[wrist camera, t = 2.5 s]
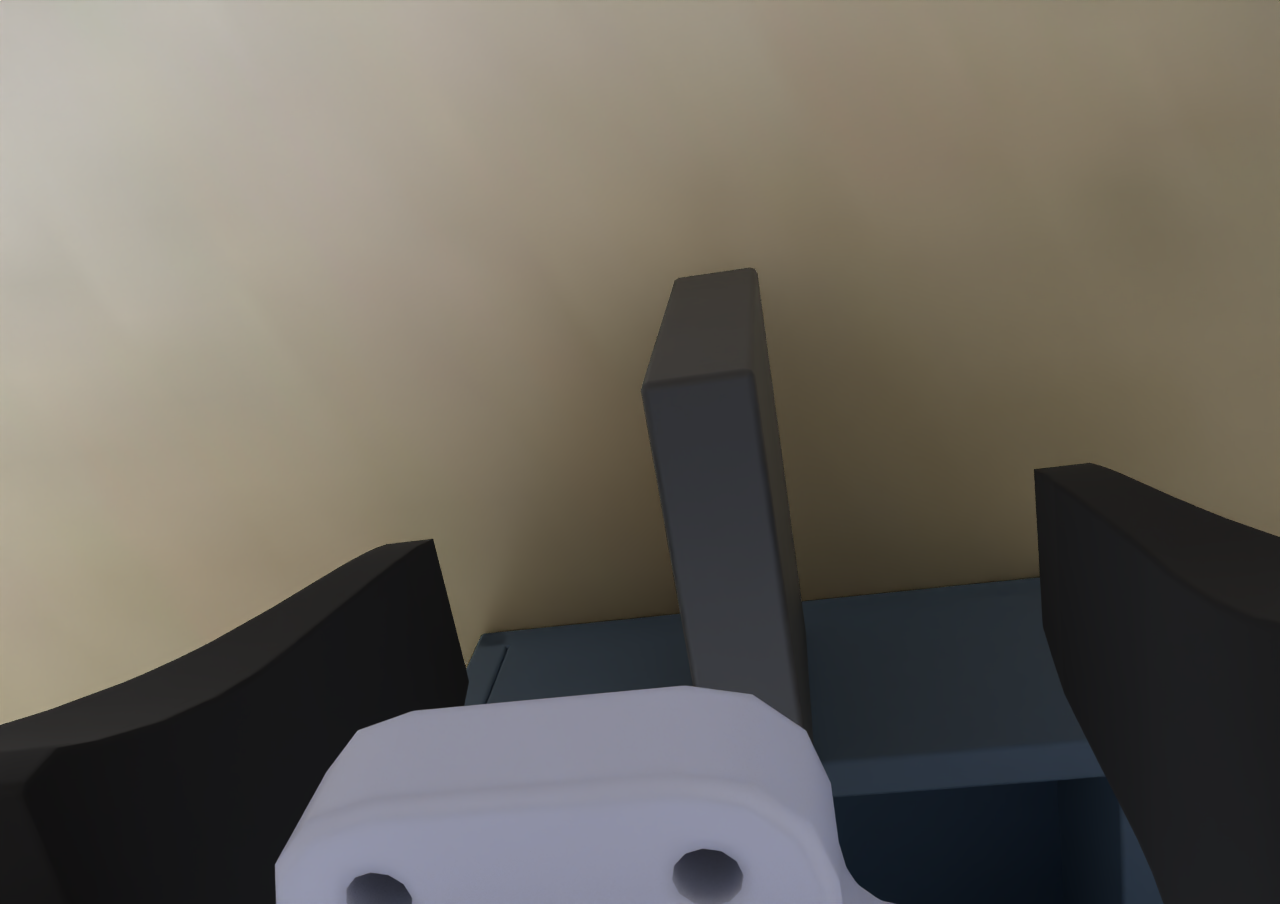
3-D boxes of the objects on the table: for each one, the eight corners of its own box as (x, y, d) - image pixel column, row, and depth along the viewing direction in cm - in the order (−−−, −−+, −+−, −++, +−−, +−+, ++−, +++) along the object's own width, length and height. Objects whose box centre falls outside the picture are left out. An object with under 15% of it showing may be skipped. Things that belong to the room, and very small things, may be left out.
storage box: (1062, 206, 17) (1209, 309, 11) (1097, 1040, 22) (1209, 1387, 17) (400, 303, 18) (242, 436, 13) (585, 1062, 24) (531, 1387, 18)
